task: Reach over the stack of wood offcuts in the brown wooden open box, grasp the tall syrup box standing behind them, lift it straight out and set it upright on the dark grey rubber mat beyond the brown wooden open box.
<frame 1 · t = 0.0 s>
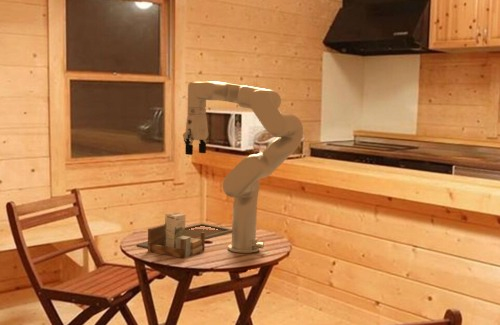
hand: (195, 153, 240), 37 cm above the table, tool pointing down, fingers open, 9 cm apart
offcut slab 2: (192, 246, 226), point 2 cm above the table, touching offcut slab 1
offcut block: (183, 255, 221), on the table
brown framed board: (200, 234, 259), on the table
syrup box: (174, 250, 228), resting in brown wooden open box
brown wooden open box: (176, 250, 227), on the table
mat: (149, 245, 234), on the table
offcut slab 1: (192, 252, 226), on the table, touching offcut slab 2
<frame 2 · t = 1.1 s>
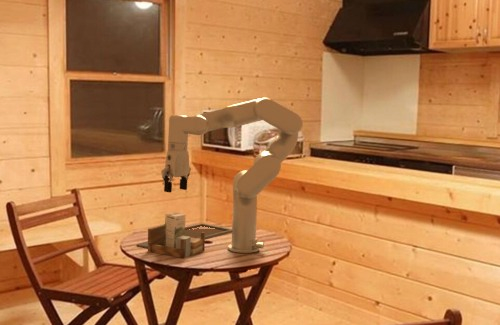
hand: (175, 190, 226), 23 cm above the table, tool pointing down, fingers open, 9 cm apart
nothing on the table moved.
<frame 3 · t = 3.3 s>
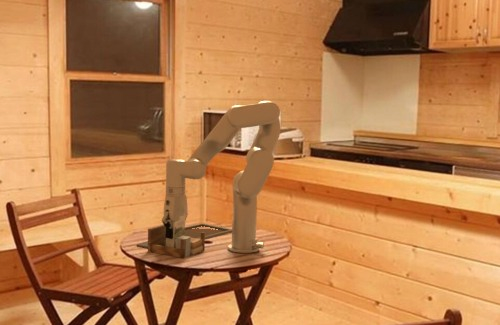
hand: (174, 236, 227), 6 cm above the table, tool pointing down, fingers closed on syrup box, 6 cm apart
syrup box: (174, 250, 228), resting in brown wooden open box, touching gripper
everything else where it was.
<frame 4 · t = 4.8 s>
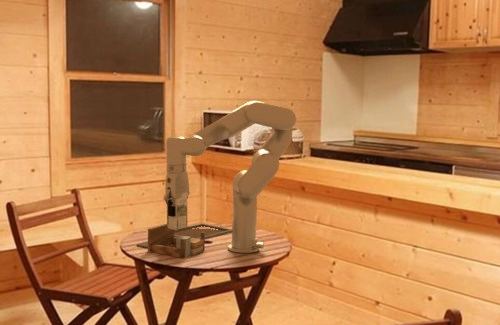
hand: (177, 214, 226), 14 cm above the table, tool pointing down, fingers closed on syrup box, 6 cm apart
syrup box: (177, 228, 227), point 9 cm above the table, touching gripper
everything else where it was.
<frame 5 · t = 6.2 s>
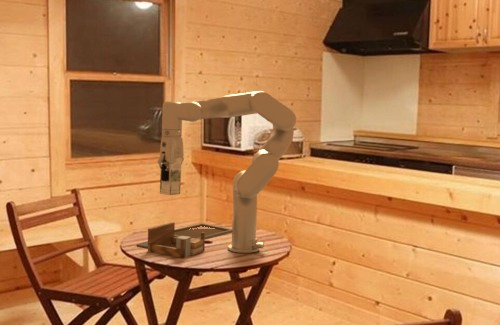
hand: (170, 179, 226), 28 cm above the table, tool pointing down, fingers closed on syrup box, 6 cm apart
offcut slab 2: (193, 246, 226), point 2 cm above the table
syrup box: (170, 194, 226), point 22 cm above the table, touching gripper
offcut slab 1: (192, 253, 226), on the table
everything else where it was.
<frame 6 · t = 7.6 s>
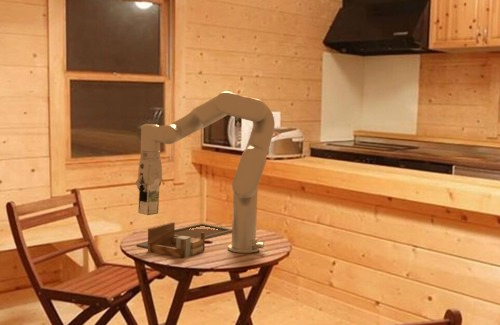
hand: (148, 199, 232), 19 cm above the table, tool pointing down, fingers closed on syrup box, 6 cm apart
offcut slab 2: (192, 246, 226), point 2 cm above the table, touching offcut slab 1
syrup box: (148, 214, 232), point 13 cm above the table, touching gripper
offcut slab 1: (192, 252, 226), on the table, touching offcut slab 2
everything else where it was.
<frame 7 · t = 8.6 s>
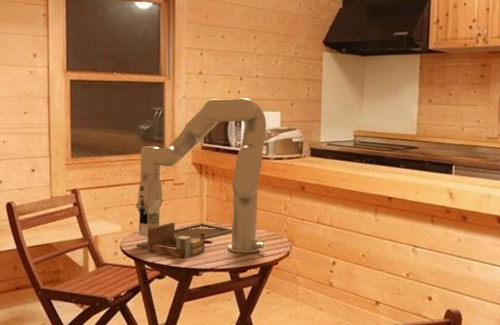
hand: (149, 221, 233), 10 cm above the table, tool pointing down, fingers closed on syrup box, 6 cm apart
offcut slab 2: (193, 246, 226), point 2 cm above the table
syrup box: (149, 235, 233), point 4 cm above the table, touching gripper
offcut slab 1: (193, 253, 226), on the table
everything else where it was.
when the fingers open (7 cm above the table, at t = 9.4 s): syrup box drops 1 cm, resting on mat.
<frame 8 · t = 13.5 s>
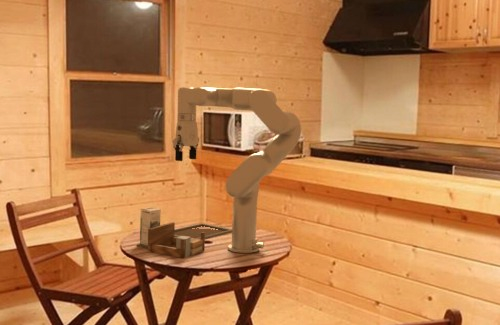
hand: (185, 159, 238), 34 cm above the table, tool pointing down, fingers open, 9 cm apart
offcut slab 2: (192, 246, 226), point 2 cm above the table, touching offcut slab 1
syrup box: (149, 244, 234), resting on mat
offcut slab 1: (192, 253, 226), on the table, touching offcut slab 2
everything else where it was.
at the end: syrup box inside the target area on the mat (0.3 cm from its centre), point 0.4 cm above the mat's base; syrup box tilted 0°; offcut slab 2 moved 0.7 cm from its start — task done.
